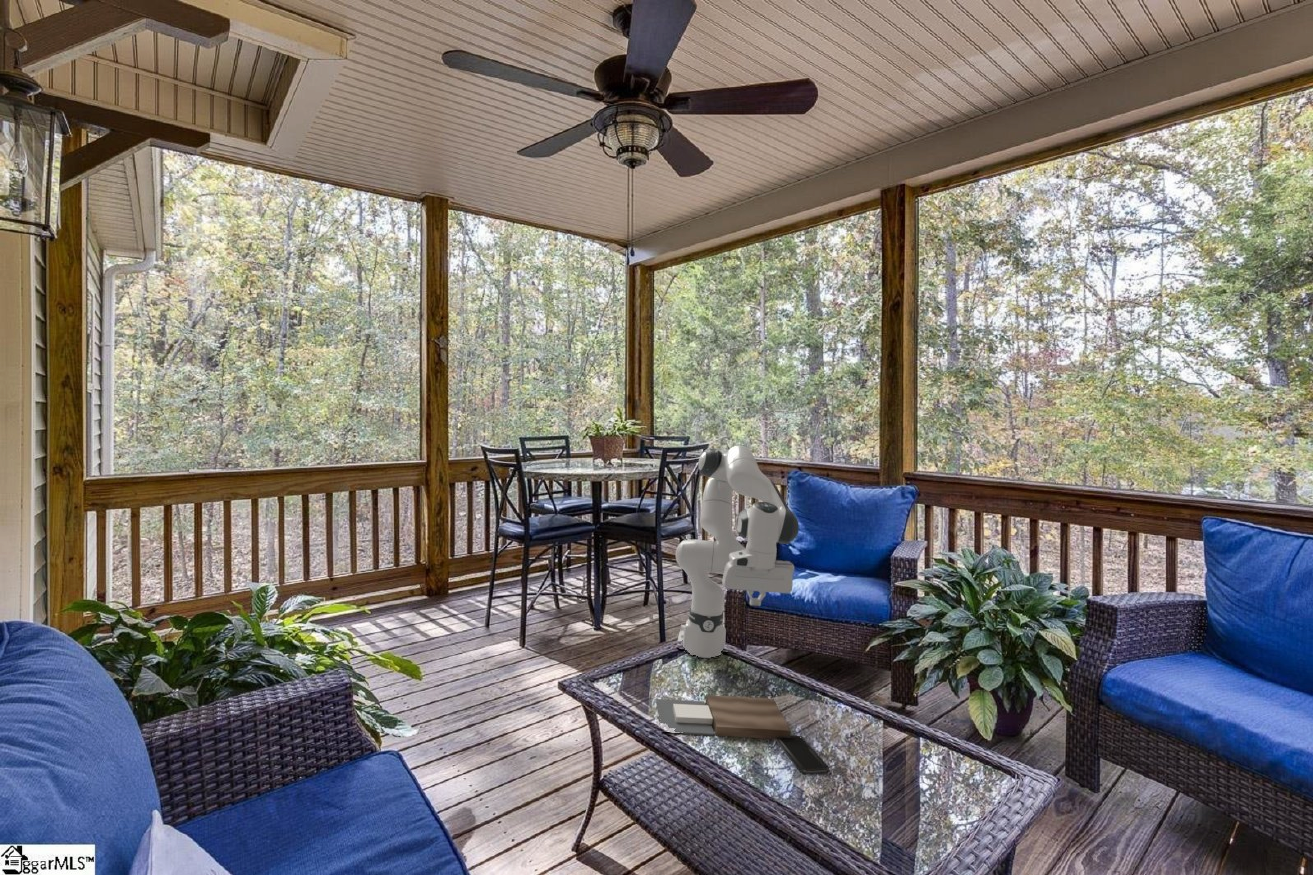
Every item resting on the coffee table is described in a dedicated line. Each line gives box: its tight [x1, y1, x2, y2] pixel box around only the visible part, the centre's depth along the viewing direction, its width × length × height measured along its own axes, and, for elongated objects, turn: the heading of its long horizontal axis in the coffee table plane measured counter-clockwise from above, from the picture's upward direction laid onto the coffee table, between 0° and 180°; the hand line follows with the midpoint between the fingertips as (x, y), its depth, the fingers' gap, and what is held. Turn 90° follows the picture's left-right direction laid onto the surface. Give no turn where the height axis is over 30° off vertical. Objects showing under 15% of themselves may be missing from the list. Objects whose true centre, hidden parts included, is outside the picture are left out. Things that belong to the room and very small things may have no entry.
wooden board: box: [705, 694, 792, 740], centre depth 169 cm, size 17×20×2 cm
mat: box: [655, 698, 715, 737], centre depth 167 cm, size 17×14×1 cm
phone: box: [775, 735, 830, 775], centre depth 154 cm, size 8×1×15 cm
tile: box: [673, 704, 713, 725], centre depth 167 cm, size 7×10×2 cm
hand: (754, 605), depth 177 cm, fingers closed
